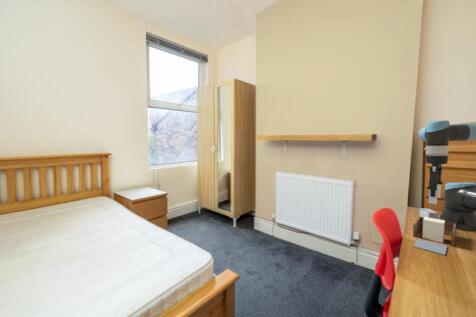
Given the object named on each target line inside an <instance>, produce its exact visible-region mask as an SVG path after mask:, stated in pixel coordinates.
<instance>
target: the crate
mask: <svg viewBox="0 0 476 317" xmlns="http://www.w3.org/2000/svg"><path fill="white" fill-rule="evenodd" d="M423 219H424V217H419V216H418V217H417V219H416V220H415V221H414V223H413V225H412V226H413V231H412V233H413V234H412V237H413V238H415V237H416V236H417V234H418V232H419V231H420V229H422V230H423ZM456 230H457V229H456V223H451V222H445V229H444V235H449V236H451V242H450V243H451V244H450V245H451V247H454V244H455V239H456Z"/></svg>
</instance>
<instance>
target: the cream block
mask: <svg viewBox="0 0 476 317" xmlns="http://www.w3.org/2000/svg"><path fill="white" fill-rule="evenodd" d="M444 229H445V220H440V219H439V218H438V219H434V218H429V217H424V219H423V229H422V239H425V238H426V239H425V240H429V241H435V242H437V243H441V244H442V243H444V240H445V234H444Z"/></svg>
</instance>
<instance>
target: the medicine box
mask: <svg viewBox="0 0 476 317" xmlns="http://www.w3.org/2000/svg"><path fill="white" fill-rule="evenodd" d="M418 212H419V216H418V217H429V218H434V219H439V213H438V212H437V211H435V210H433V209H430V208H423V207H422V208H419V210H418Z"/></svg>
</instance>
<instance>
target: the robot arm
mask: <svg viewBox="0 0 476 317" xmlns="http://www.w3.org/2000/svg"><path fill="white" fill-rule="evenodd" d="M418 138H419V139H420V140H421V141H424V142H425V147H424V148H423V149H424V151H425V154H426V155H425V156H424V158H425V159H424V160H425V161H424V162H425V164H427V165H428V164H430V165H431V166H430V167H429V180H428V186H426V189H427V190H428V204H432V205H438V198H439V199H441V194H442V193H441V191H442V188H441V187H442V185H443V184H444V182H443V181H442V174H443V173H442V172H443V167H442V165H447V164H448V163H449V161H448V160H449V156H448V155H449V145H450V144H449V142H469V141H473V140H476V121H469V122H460V123H452V124H450V121H449V120H433V121H431V120H430V121H428V122H427V124H426V126H425V127H422V128H420V130H419V131H418ZM443 195H444V196H443V197H444V199H443V206H444V207H443V210H442V212H441V214H440V215H439V216H438V219H440V220H445V222H451V223H456V230H461V231H469V232H470V231H475V232H476V182H465V181H464V182H462V181H461V182H459V181H458V182H453V181H452V182H447V183H446V184H445V185H444V194H443Z"/></svg>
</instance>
